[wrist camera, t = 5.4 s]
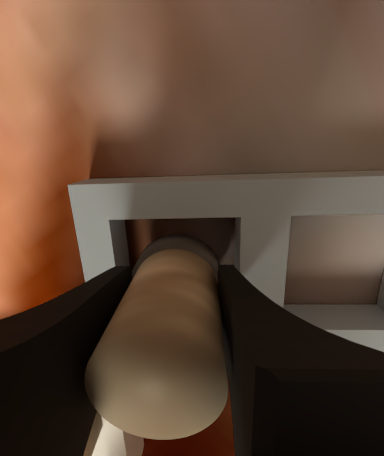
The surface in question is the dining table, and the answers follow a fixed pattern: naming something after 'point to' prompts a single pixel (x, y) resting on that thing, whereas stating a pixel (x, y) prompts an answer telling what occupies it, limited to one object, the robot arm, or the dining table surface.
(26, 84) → the dining table surface
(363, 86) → the dining table surface
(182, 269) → the banded peg
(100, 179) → the pin block
